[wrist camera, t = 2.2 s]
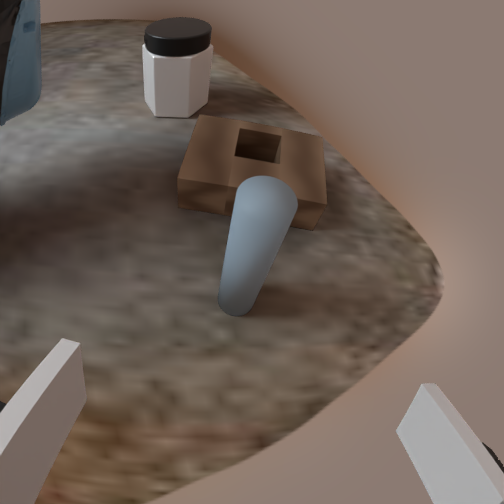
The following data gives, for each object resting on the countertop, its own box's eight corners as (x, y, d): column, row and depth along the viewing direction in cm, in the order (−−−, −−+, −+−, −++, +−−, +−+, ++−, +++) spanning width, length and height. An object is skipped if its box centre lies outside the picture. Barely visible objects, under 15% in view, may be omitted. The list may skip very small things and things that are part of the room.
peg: (215, 313, 27) (232, 218, 15) (220, 279, 29) (239, 170, 17) (252, 318, 28) (297, 229, 16) (255, 285, 29) (297, 181, 17)
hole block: (178, 207, 32) (177, 178, 28) (197, 143, 37) (199, 114, 33) (312, 230, 33) (327, 204, 30) (311, 163, 38) (322, 137, 35)
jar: (173, 81, 44) (175, 12, 33) (217, 97, 43) (226, 24, 32) (133, 108, 39) (128, 32, 29) (179, 127, 38) (181, 44, 28)
